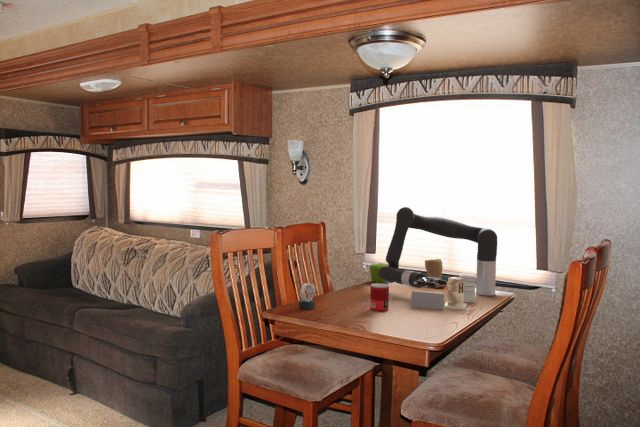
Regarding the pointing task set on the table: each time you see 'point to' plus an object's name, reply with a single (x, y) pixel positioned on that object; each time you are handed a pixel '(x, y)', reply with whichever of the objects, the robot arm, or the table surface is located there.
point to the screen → (427, 300)
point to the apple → (376, 273)
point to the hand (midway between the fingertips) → (440, 284)
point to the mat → (455, 306)
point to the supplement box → (468, 286)
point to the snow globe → (307, 303)
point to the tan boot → (434, 269)
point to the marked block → (455, 291)
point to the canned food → (379, 297)
